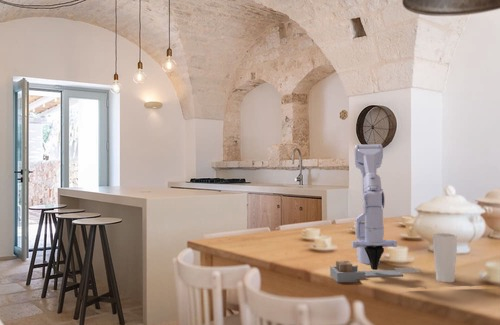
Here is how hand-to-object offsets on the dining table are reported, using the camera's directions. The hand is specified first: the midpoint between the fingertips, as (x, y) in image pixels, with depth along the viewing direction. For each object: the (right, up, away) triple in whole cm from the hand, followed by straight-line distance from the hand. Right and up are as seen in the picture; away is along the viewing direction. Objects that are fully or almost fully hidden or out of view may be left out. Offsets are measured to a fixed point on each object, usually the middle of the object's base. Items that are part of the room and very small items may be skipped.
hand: (374, 269), depth 155 cm
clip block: (-8, 0, -1) cm, 8 cm away
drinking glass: (+20, -3, -7) cm, 22 cm away
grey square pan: (-2, -3, 0) cm, 4 cm away
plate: (+13, -3, +5) cm, 14 cm away
